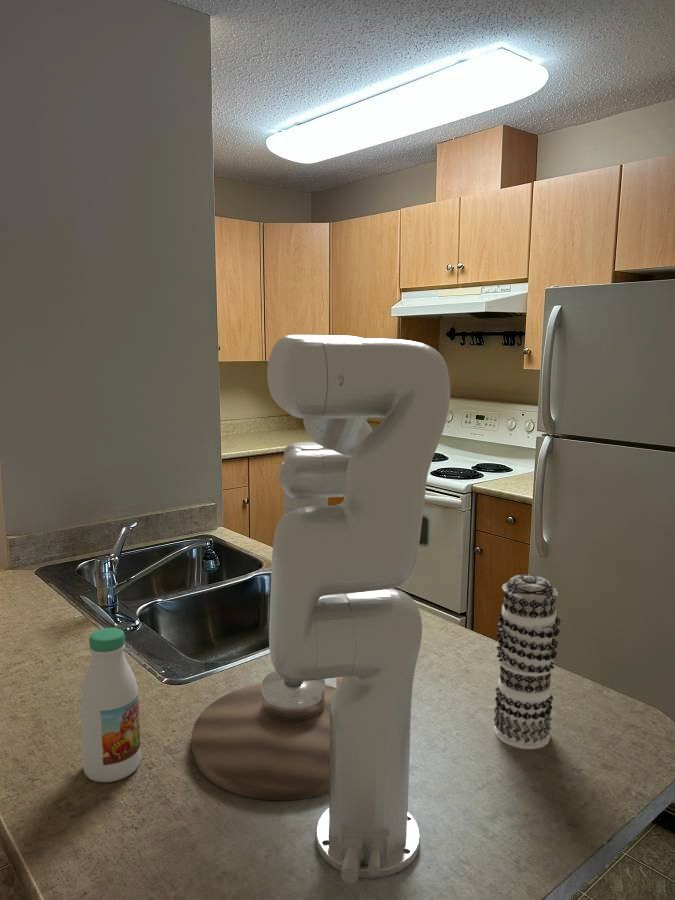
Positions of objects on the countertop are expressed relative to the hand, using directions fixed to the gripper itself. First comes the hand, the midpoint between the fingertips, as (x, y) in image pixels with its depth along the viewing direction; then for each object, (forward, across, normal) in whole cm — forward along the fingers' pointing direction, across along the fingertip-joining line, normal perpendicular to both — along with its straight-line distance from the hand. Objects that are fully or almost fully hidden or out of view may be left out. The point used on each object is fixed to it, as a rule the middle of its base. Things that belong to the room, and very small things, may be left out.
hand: (304, 616), depth 116 cm
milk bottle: (+12, -27, +23) cm, 38 cm away
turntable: (+12, -17, 0) cm, 21 cm away
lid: (+10, -11, 0) cm, 15 cm away
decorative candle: (+12, -10, -36) cm, 40 cm away
